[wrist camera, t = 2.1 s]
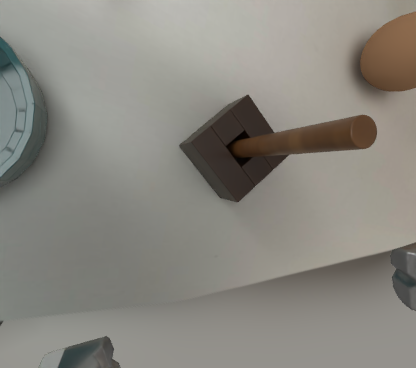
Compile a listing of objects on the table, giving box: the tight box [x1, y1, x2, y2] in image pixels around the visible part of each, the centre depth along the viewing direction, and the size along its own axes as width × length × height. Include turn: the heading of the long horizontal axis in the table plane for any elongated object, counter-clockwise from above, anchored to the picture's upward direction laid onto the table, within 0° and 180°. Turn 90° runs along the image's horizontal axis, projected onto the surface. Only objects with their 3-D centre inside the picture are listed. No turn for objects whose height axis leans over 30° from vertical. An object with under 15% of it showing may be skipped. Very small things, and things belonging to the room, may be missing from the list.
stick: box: [226, 115, 377, 158], centre depth 26 cm, size 2×2×20 cm
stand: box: [179, 95, 288, 202], centre depth 33 cm, size 8×8×5 cm
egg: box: [360, 12, 416, 91], centre depth 36 cm, size 8×8×11 cm
